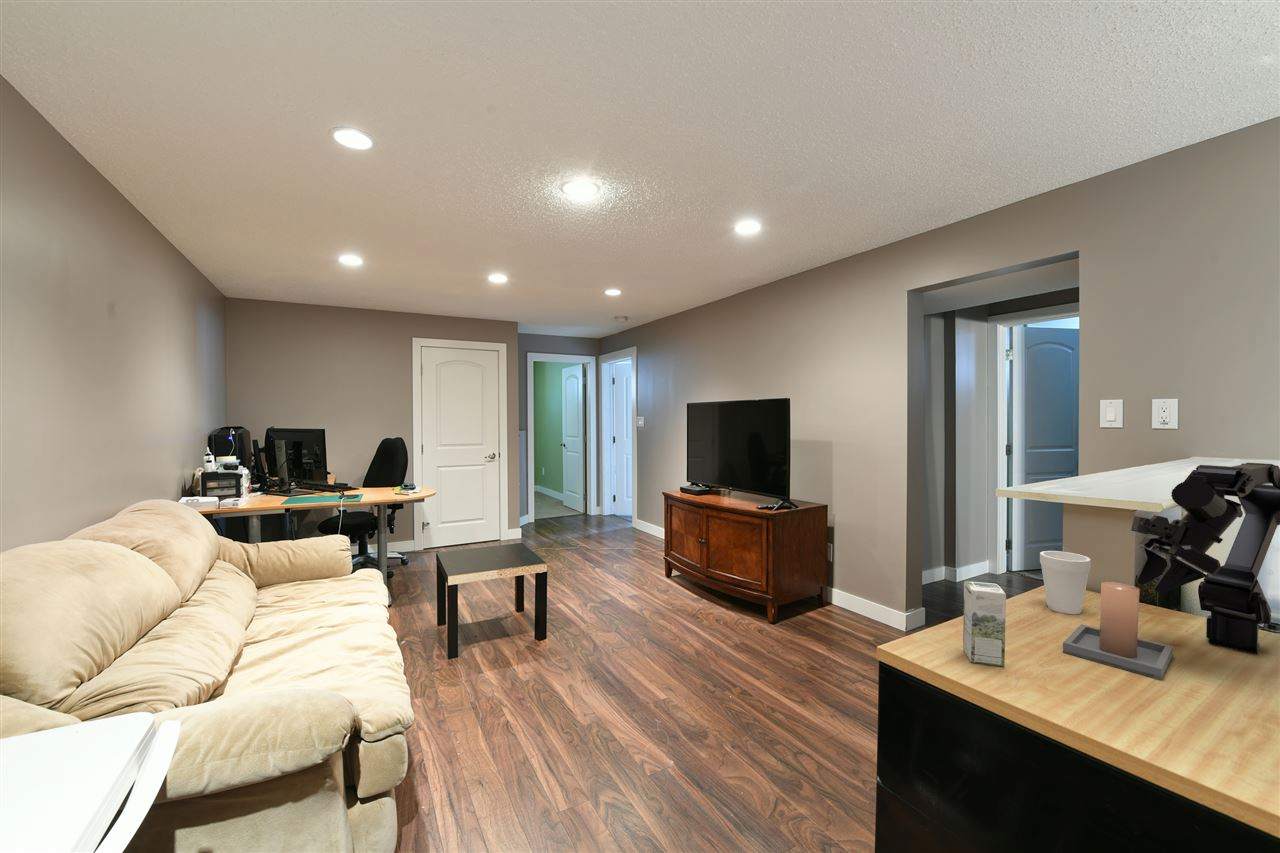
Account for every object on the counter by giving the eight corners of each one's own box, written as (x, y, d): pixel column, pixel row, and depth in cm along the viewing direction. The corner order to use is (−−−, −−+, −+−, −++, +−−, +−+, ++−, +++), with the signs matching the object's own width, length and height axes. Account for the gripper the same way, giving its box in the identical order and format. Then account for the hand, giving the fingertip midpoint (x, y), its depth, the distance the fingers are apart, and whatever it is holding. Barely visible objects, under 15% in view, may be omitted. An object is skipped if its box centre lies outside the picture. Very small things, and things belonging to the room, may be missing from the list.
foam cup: (1100, 616, 121) (1101, 561, 121) (1060, 617, 121) (1060, 561, 121) (1067, 602, 130) (1068, 550, 130) (1030, 602, 131) (1030, 550, 130)
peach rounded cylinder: (1139, 652, 102) (1141, 587, 102) (1134, 660, 99) (1136, 593, 98) (1102, 642, 106) (1104, 579, 106) (1096, 650, 103) (1098, 585, 103)
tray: (1173, 656, 101) (1173, 646, 101) (1161, 680, 93) (1161, 669, 93) (1081, 633, 112) (1081, 624, 112) (1062, 652, 104) (1063, 642, 104)
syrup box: (995, 654, 103) (996, 582, 103) (1005, 668, 98) (1006, 592, 97) (962, 650, 105) (963, 579, 105) (970, 663, 100) (971, 589, 99)
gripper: (1138, 498, 113) (1089, 555, 116) (1175, 501, 97) (1117, 568, 99) (1199, 530, 108) (1147, 589, 111) (1249, 539, 92) (1186, 608, 95)
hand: (1147, 587), depth 104 cm, fingers open, 9 cm apart
